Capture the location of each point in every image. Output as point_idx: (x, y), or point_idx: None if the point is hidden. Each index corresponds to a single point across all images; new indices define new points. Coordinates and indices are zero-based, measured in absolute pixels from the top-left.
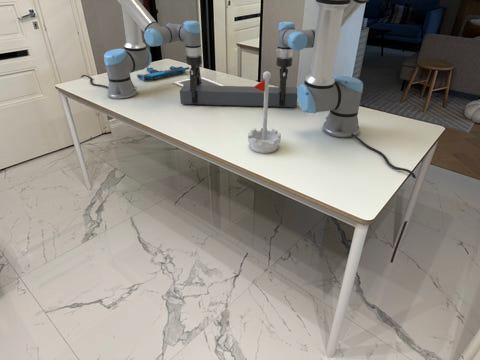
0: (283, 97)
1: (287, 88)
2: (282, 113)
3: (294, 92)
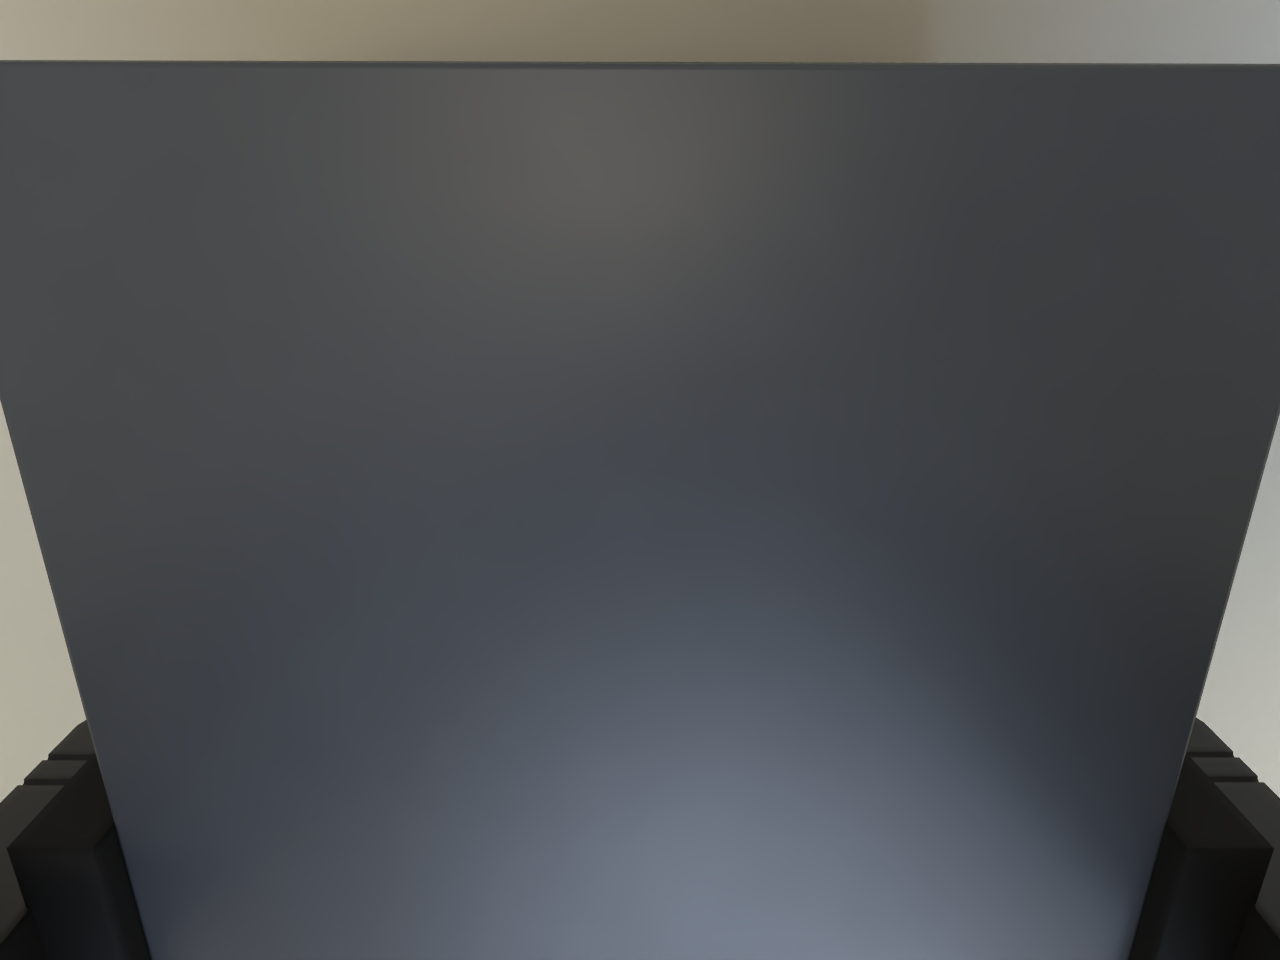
0: (1242, 787)
1: (298, 701)
2: (1272, 551)
3: (1084, 313)
